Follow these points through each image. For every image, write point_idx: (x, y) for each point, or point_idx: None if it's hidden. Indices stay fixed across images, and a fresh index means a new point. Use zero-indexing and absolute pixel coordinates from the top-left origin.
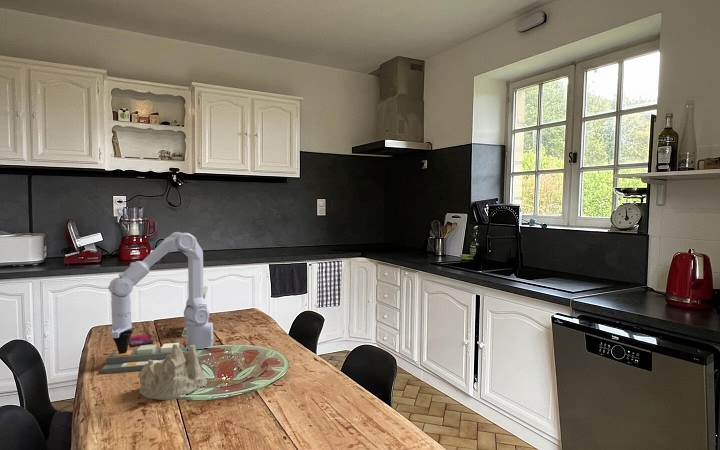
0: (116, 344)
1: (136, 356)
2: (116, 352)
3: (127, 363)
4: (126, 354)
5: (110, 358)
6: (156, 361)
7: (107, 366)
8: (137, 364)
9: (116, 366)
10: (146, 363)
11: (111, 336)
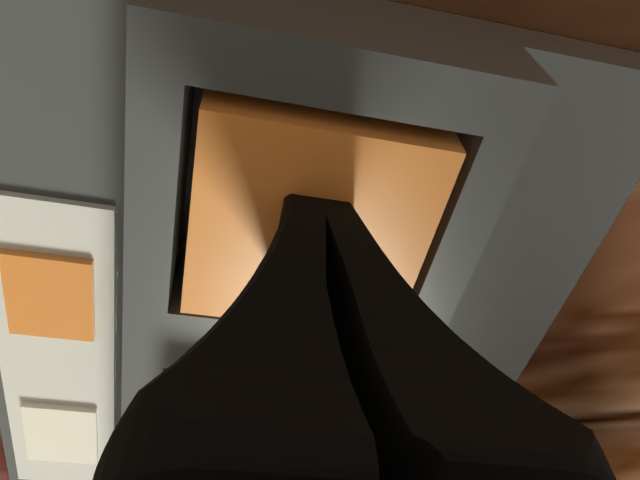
0: (246, 289)
1: (123, 370)
2: (382, 149)
3: (81, 249)
4: (196, 288)
5: (126, 76)
6: (63, 459)
7: (36, 4)
8: (14, 339)
9: (11, 132)
10: (35, 399)
11: (151, 411)
